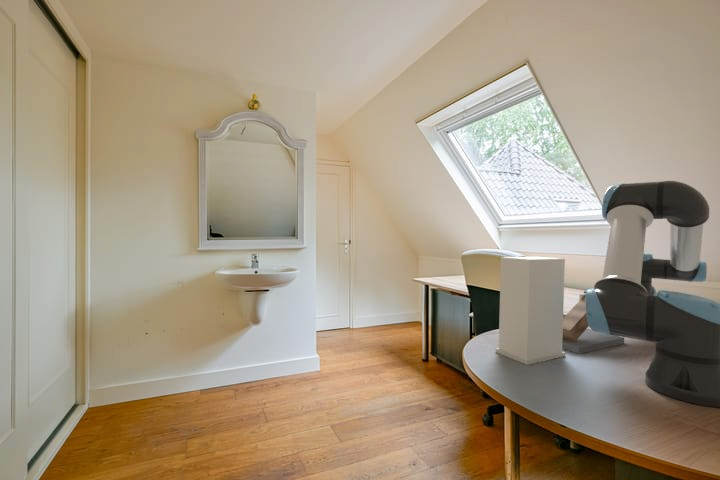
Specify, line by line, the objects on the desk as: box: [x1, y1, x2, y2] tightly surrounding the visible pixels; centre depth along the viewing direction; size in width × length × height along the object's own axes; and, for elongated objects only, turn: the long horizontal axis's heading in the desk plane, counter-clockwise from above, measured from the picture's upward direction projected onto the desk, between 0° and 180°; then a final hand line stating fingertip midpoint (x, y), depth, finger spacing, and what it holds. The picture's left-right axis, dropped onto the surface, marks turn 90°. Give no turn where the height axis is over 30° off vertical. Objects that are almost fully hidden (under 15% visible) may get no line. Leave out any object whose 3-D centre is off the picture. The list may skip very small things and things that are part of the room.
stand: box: [495, 256, 566, 366], centre depth 104 cm, size 17×11×30 cm, turn 116°
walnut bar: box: [562, 287, 594, 342], centre depth 116 cm, size 24×5×5 cm, turn 115°
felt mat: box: [562, 328, 625, 355], centre depth 116 cm, size 26×12×2 cm, turn 116°
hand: (589, 299), depth 117 cm, fingers closed on walnut bar, 5 cm apart
